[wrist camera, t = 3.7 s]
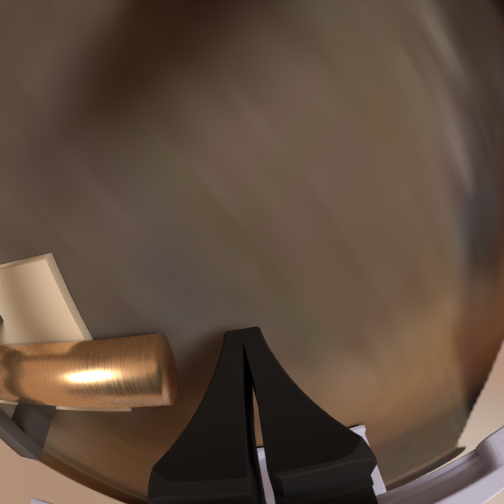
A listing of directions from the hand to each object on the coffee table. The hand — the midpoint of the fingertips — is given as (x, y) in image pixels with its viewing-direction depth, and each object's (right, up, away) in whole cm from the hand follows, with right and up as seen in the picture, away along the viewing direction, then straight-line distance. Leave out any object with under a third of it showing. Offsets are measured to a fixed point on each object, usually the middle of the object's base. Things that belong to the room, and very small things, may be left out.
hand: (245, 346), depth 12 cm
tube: (-10, -1, 0) cm, 10 cm away
